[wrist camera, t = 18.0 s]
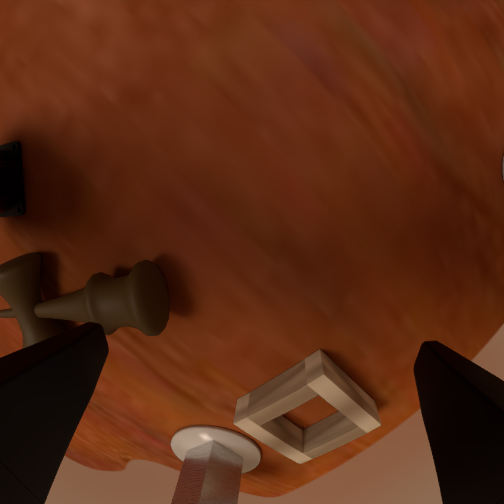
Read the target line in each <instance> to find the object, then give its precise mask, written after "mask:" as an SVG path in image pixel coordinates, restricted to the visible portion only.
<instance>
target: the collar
mask: <svg viewBox="0 0 504 504" xmlns="http://www.w3.org/2000/svg"><path fill="white" fill-rule="evenodd" d="M317 395H320V396H321V397H322V398H324V399H325V400H326V401H327V402H329V403H330V404H331V405H332V406H333V407H335V408H336V409H337V410H338V412H336V413H334V414H333V415H331V416H329V417H327V418H325V419H323V420H321V421H319V422H317V423H315V424H313V425H311V426H309V427H307V428H305V429H303V430H302V429H300V428H299V427H297V426H296V425H294V424H293V423H291V422H290V421H288V420H287V419H286V418H284V417H283V416H281V415H282V414H284V413H286V412H288V411H290V410H292V409H294V408H296V407H298V406H299V405H301V404H303V403H305V402H307V401H309V400H310V399H312V398H314V397H316V396H317ZM233 424H235V425H236V426H238V427H239V428H241V429H242V430H244V431H245V432H247V433H248V434H250V435H251V436H253V437H255V438H256V439H258V440H259V441H261V442H263V443H264V444H266V445H268V446H269V447H271V448H273V449H274V450H276V451H278V452H279V453H281V454H283V455H285V456H286V457H288V458H290V459H292V460H293V461H295V462H297V463H299V464H301V463H303V462H306V461H308V460H311V459H313V458H316V457H318V456H320V455H323V454H325V453H327V452H329V451H331V450H334V449H336V448H338V447H340V446H342V445H344V444H346V443H348V442H350V441H352V440H354V439H356V438H358V437H360V436H362V435H364V434H366V433H368V432H370V431H371V430H373V429H375V428H377V427H379V426H381V421H380V417H379V414H378V410H377V407H376V403H375V401H374V400H373V399H372V398H371V397H370V396H369V395H367V394H366V393H365V392H364V391H363V390H362V389H361V388H360V387H359V386H358V385H357V384H356V383H355V382H354V381H353V380H352V379H351V378H350V377H348V376H347V375H346V374H345V373H344V372H343V371H342V370H341V369H340V368H339V367H338V366H337V365H336V364H335V363H334V362H333V361H332V360H331V359H330V358H329V357H328V356H327V355H326V354H325V353H323V352H322V351H321V350H320V349H319V350H318V351H316V352H315V353H313V354H312V355H310V356H309V357H307V358H306V359H304V360H302V361H301V362H299V363H298V364H296V365H295V366H293V367H291V368H290V369H288V370H287V371H285V372H283V373H282V374H280V375H278V376H277V377H275V378H273V379H272V380H270V381H268V382H267V383H265V384H263V385H262V386H260V387H258V388H257V389H255V390H253V391H251V392H250V393H248V394H246V395H244V396H242V397H241V398H239V399H238V400H237V406H236V412H235V417H234V423H233Z"/></svg>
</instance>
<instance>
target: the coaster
mask: <svg viewBox="0 0 504 504" xmlns="http://www.w3.org/2000/svg"><path fill="white" fill-rule="evenodd" d="M211 440H215V441H216V442H218V443H219V444H221V445H223V446H224V447H226V448H228V449H229V450H231V451H233V452H234V453H236V454H238V455H239V456H241V457H243V458H244V460H243V467H242V473H245V472H248V471H251V470H252V469H254V468H255V467H257V465H258V464H259V462H260V457H261V452H260V449H259V447H258V446H257V445H256V443H255V442H253V441H252V440H251V439H250V438H248V437H246V436H245V435H243V434H241V433H238V432H236V431H233V430H230V429H226V428H222V427H217V426H210V425H193V426H188V427H184V428H182V429H180V430H178V431H177V432H176V433H175V434H174V435H173V438H172V441H171V447H172V450H173V452H174V453H175V454H176V456H177V457H178V458H179V459H181V460H182V461H183V462H184V458H185V455H186V452H187V450H189V449H191V448H194V447H196V446H199V445H202V444H204V443H206V442H209V441H211Z"/></svg>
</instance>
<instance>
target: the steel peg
mask: <svg viewBox="0 0 504 504" xmlns="http://www.w3.org/2000/svg"><path fill="white" fill-rule="evenodd" d="M243 460H244V458H243V457H241V456H239V455H238V454H236V453H234V452H233V451H231V450H229V449H228V448H226V447H224V446H223V445H221V444H219V443H218V442H216V441H215V440H211V441H209V442H206V443H204V444H202V445H199V446H196V447H194V448H191V449H189V450H187V452H186V455H185V458H184V462H183V465H182V469H181V472H180V475H179V479H178V482H177V486H176V489H175V492H174V496H173V499H172V503H171V504H237V502H238V495H239V488H240V481H241V474H242V467H243Z"/></svg>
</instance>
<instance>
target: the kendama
mask: <svg viewBox="0 0 504 504" xmlns="http://www.w3.org/2000/svg"><path fill="white" fill-rule="evenodd" d="M40 272H41V256H40V254H37V253H30V254H25V255H22V256H19V257H17V258H14V259H11V260H9V261H7V262H5V263H3V264H1V265H0V295H1V296H2V297H3V298H4V299H5V300H6V301H7V302H8V304H9V305H10V307H11V308H10V309H4V310H0V317H3V318H17V320H18V323H19V325H20V328H21V330H22V334H23V348H26V347H28V346H31V345H33V344H36V343H38V342H40V341H43V340H45V339H48V338H50V337H53V336H55V335H58V334H60V333H62V332H65V331H66V330H65V329H63V328H62V327H61V326H59V325H58V324H57V323H56V322H55V321H53V319H64V320H71V321H78V322H84V323H87V322H94V323H99V324H101V325H102V326H103V329H104V332H105V335H111V334H112V333H114V332H115V331H116V330H117V329H118V328H119V327H124V326H126V327H133V328H137V329H139V330H140V331H142V332H143V333H144V334H145V335H147V336H157V335H159V334H160V333H161V332H162V331H163V330H164V329H165V327H166V325H167V322H168V319H169V310H170V306H169V295H168V291H167V286H166V283H165V280H164V278H163V275H162V273H161V271H160V270H159V268H158V267H157V266H156V264H155V263H153V262H151V261H149V260H143V261H141V262H138V263H137V264H136V265H135V266H134V267H133V269H132V270H131V272H130V273H129V275H126V276H123V277H114V278H112V277H111V276H110V275H107V274H105V273H102V272H99V273H97V274H94V275H92V277H91V278H90V279H89V280H88V281H87V284H86V287H84V288H83V289H81V290H78V291H76V292H73V293H70V294H67V295H64V296H62V297H58V298H55V299H52V300H48V301H45V302H43V299H42V296H41V292H40ZM52 318H53V319H52Z"/></svg>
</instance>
